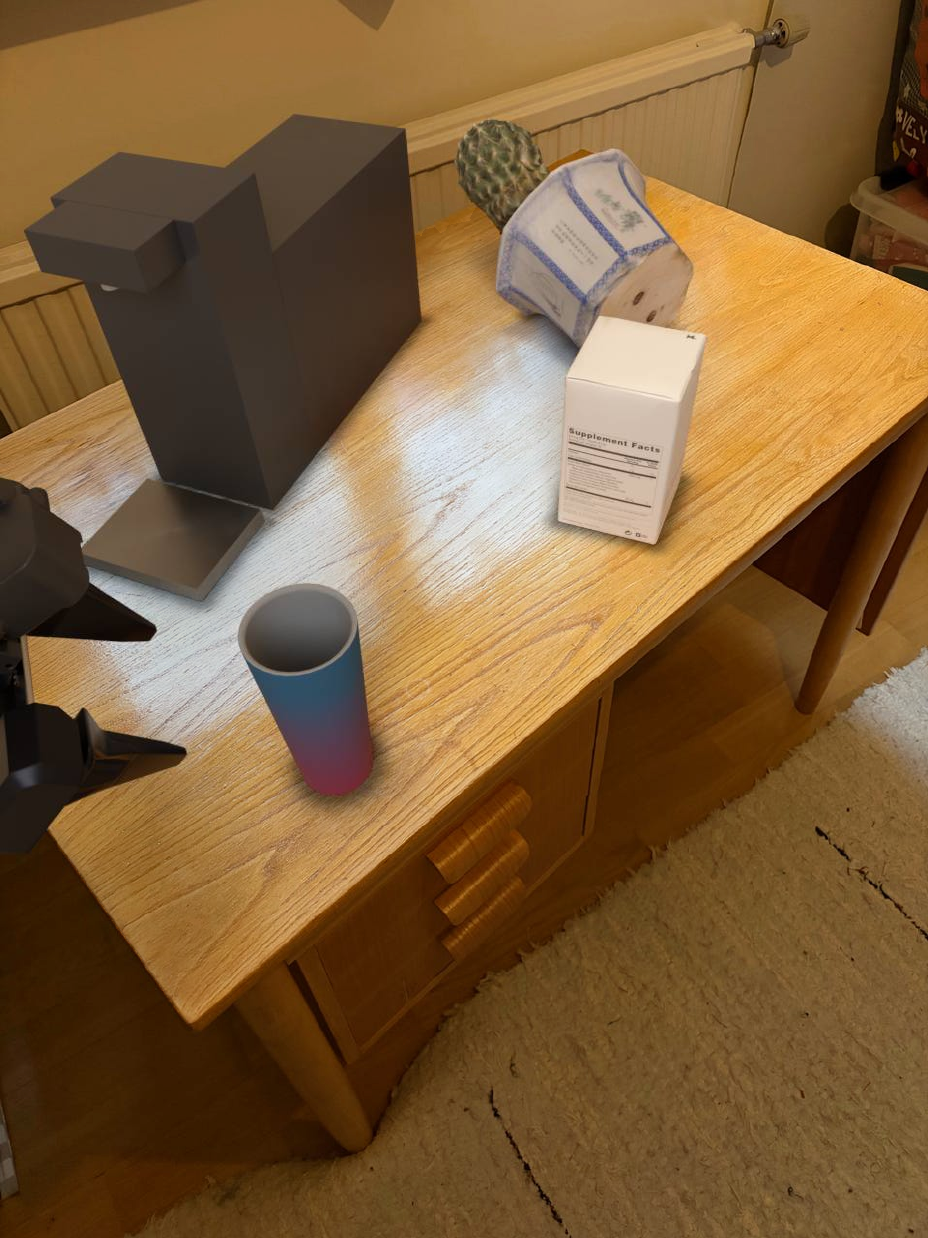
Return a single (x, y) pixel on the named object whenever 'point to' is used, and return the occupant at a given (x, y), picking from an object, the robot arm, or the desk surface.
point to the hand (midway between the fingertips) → (167, 691)
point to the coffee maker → (245, 293)
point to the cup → (312, 681)
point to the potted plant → (572, 233)
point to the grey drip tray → (173, 538)
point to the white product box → (627, 426)
